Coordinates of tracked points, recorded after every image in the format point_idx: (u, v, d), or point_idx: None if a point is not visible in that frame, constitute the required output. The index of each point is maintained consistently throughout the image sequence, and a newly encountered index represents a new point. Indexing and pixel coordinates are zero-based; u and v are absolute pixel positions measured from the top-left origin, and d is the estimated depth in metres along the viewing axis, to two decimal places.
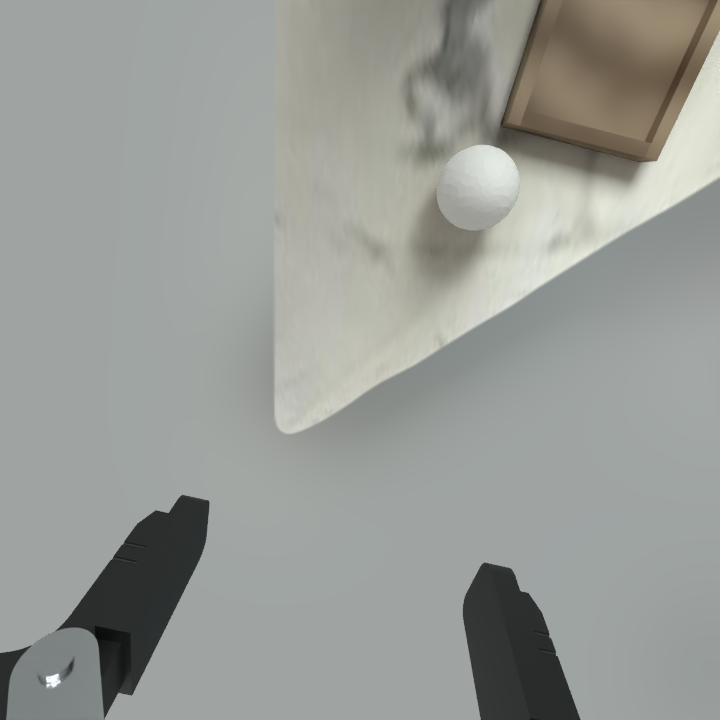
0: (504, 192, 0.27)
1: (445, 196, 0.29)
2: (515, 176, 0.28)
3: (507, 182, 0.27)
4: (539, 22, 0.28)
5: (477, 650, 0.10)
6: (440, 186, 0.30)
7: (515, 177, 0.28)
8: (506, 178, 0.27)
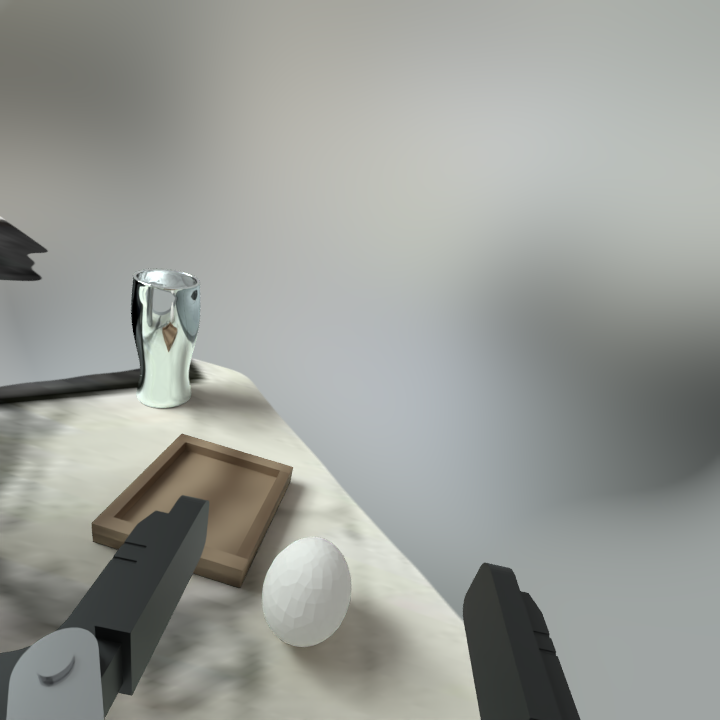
0: (320, 540, 0.27)
1: (317, 613, 0.24)
2: None
3: (310, 538, 0.27)
4: None
5: (477, 650, 0.10)
6: (303, 625, 0.24)
7: None
8: (306, 539, 0.27)
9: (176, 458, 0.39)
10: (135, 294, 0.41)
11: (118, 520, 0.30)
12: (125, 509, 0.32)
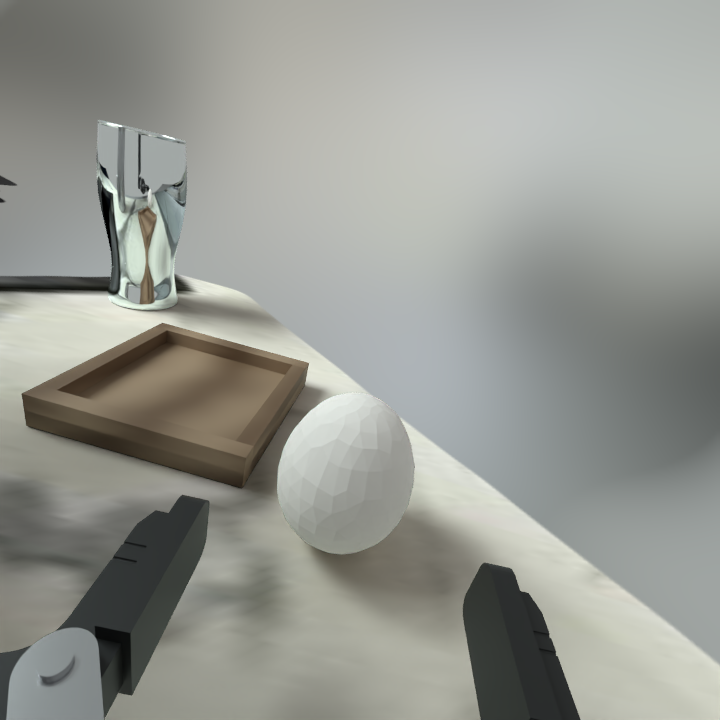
0: None
1: (370, 489, 0.15)
2: None
3: (350, 392, 0.18)
4: (128, 427, 0.20)
5: (477, 650, 0.10)
6: (348, 508, 0.15)
7: None
8: (344, 393, 0.17)
9: (154, 348, 0.29)
10: (100, 143, 0.31)
11: (63, 393, 0.21)
12: (76, 386, 0.22)
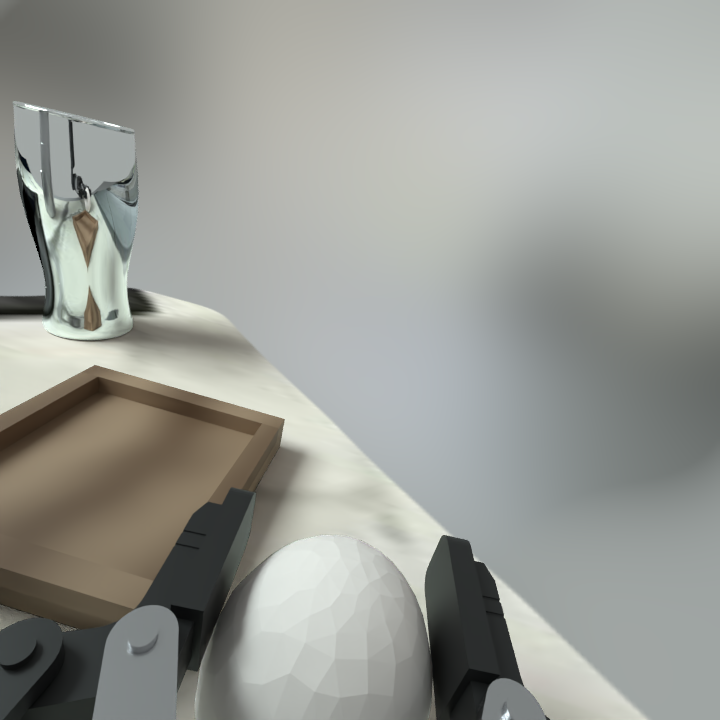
0: (350, 543, 0.10)
1: None
2: None
3: (325, 539, 0.10)
4: None
5: (433, 616, 0.11)
6: None
7: None
8: (314, 541, 0.10)
9: (78, 402, 0.22)
10: (16, 131, 0.24)
11: None
12: None
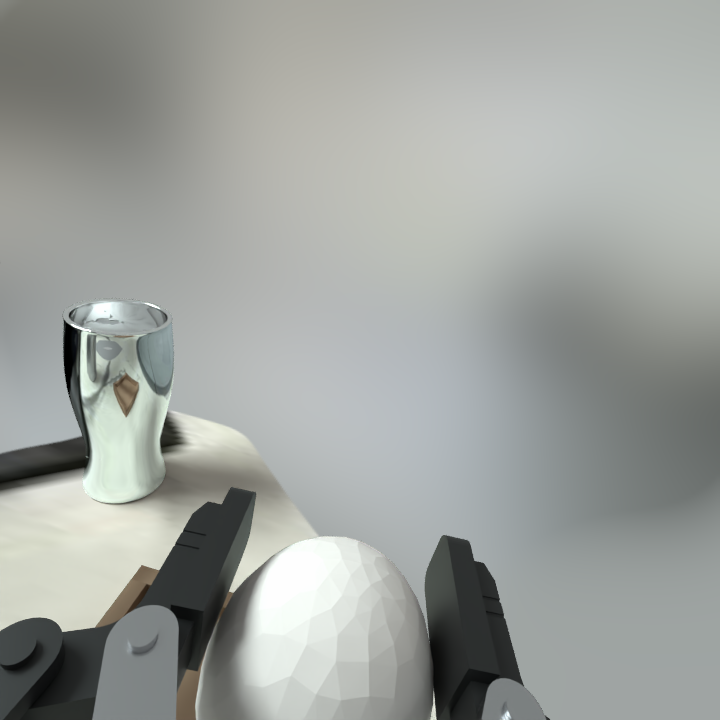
0: (351, 544, 0.10)
1: None
2: None
3: (326, 541, 0.10)
4: None
5: (433, 616, 0.11)
6: None
7: None
8: (315, 543, 0.10)
9: None
10: (66, 343, 0.26)
11: None
12: None
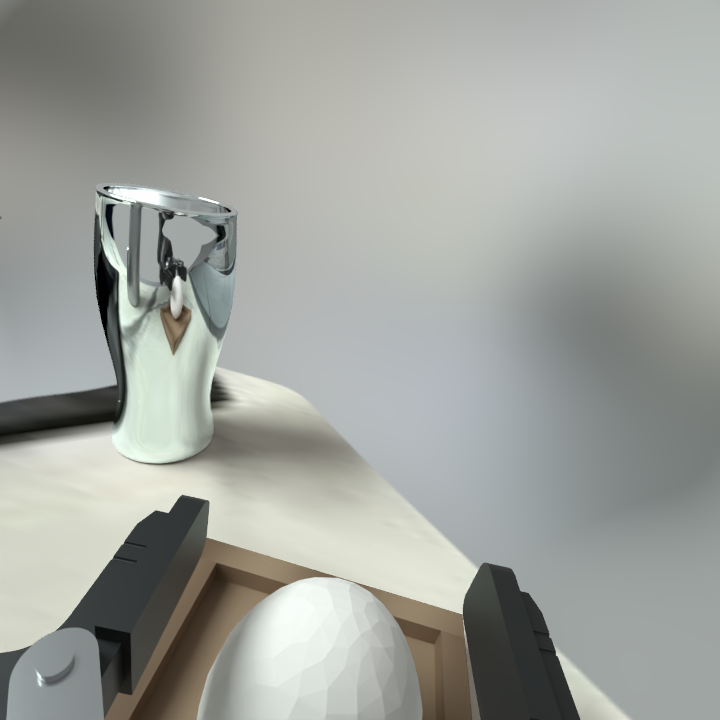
0: (343, 589, 0.11)
1: None
2: (300, 580, 0.12)
3: (319, 585, 0.11)
4: None
5: (477, 650, 0.10)
6: None
7: (303, 579, 0.12)
8: (308, 588, 0.11)
9: (197, 609, 0.16)
10: (100, 226, 0.18)
11: None
12: None
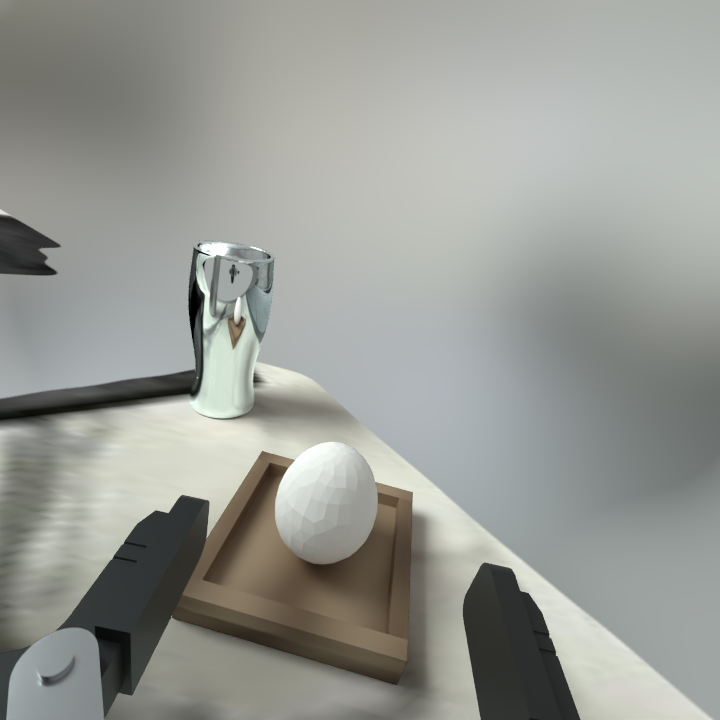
0: (340, 443, 0.23)
1: (341, 516, 0.21)
2: None
3: (329, 442, 0.23)
4: (283, 627, 0.20)
5: (477, 650, 0.10)
6: (325, 531, 0.21)
7: None
8: (324, 442, 0.23)
9: (261, 485, 0.29)
10: (197, 270, 0.31)
11: (210, 585, 0.20)
12: (213, 564, 0.22)
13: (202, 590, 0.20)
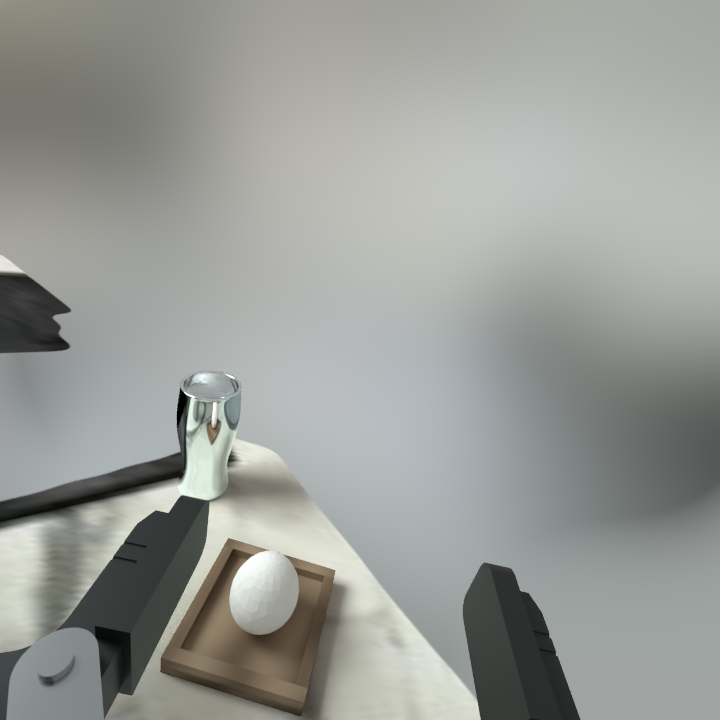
0: (273, 553, 0.35)
1: (268, 609, 0.33)
2: None
3: (266, 552, 0.35)
4: (229, 680, 0.32)
5: (477, 650, 0.10)
6: (258, 618, 0.33)
7: None
8: (263, 553, 0.35)
9: (225, 566, 0.41)
10: (183, 405, 0.43)
11: (184, 652, 0.32)
12: (188, 635, 0.34)
13: (179, 656, 0.32)
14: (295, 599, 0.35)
